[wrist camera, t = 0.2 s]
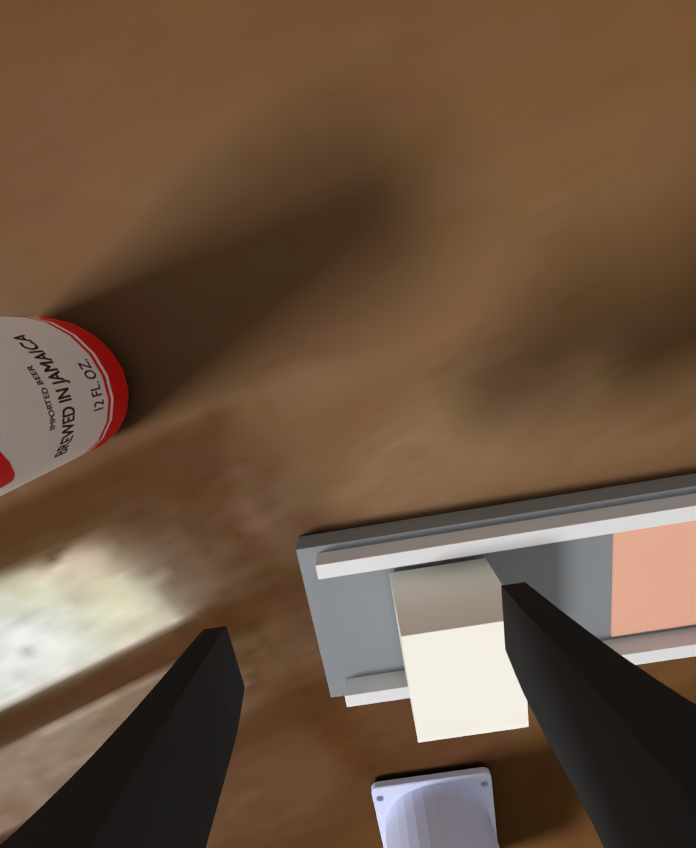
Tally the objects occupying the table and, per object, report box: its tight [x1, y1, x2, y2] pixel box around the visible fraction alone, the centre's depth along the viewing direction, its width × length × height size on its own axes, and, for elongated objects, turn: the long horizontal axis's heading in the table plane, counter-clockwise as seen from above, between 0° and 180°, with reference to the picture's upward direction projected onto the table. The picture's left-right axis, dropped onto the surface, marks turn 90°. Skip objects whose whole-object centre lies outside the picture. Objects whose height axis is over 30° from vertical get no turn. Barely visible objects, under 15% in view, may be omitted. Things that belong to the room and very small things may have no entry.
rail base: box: [296, 473, 696, 707], centre depth 19 cm, size 10×24×4 cm, turn 100°
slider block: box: [389, 558, 529, 743], centre depth 18 cm, size 6×5×4 cm
